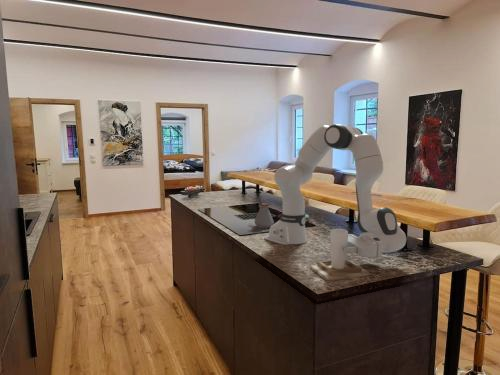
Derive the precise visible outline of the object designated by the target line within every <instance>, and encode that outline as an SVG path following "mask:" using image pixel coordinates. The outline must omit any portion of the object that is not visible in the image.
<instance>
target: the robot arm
mask: <svg viewBox="0 0 500 375" xmlns="http://www.w3.org/2000/svg"><path fill="white" fill-rule="evenodd" d="M331 149H335V150H339V151H350V152H351V153H352V156H353V161H354V166H355V194H356V202H357V219H356V223H357V227H358V230H359V231H361V233H360V234H359V235H358V236H357V235H355V234H352V233H348V244H347V247H343V252H345V253H346V254H347V253H350V254H355V255H357V256H359V257H361V258H364V259H365V258H382V255H383V253H392V252H396V251H399V250H402V249H403V248H404V247H405V246H406V243H407V236H406V233H405V232H404V231H403V230H402V229H401V228H400V226H399V223H398V221H397V216H396V213H395V212H394V211H393V210H392V209H391V208H389V207H385V206H384V207H383V206H382V207H379V208H376V209H374V207H373V201H372V200H373V199H372V188H373V186H374V184H375V183H376V182H377V180H378V179H379V178H380V177H381V176H382V174H383V172H384V161H383V157H382V154H381V149H380V147H379V145H378V142H377V139H376V138H375V136H374V135H372V134H370V133H364V132H363V131H362V130H361V129H359V128H358V127H355V126H352V125H349V124H341V123H340V124H339V123H335V124H331V125H329V124H328V125H327V124H324V125H321V126H319V127H318V128H317V129H316V130H315V131H314V132H313V133H312V134H311V136H309V138H308V139H307V140H306V141H305V143H303V145H302V147H300V149H299V151H298V155H297V158H296V160H295V162H293V163H292V164H289V165H288V164H287V165H283V166H281V167H280V168H278V169H276V170H275V172H274V175H273V178H274V182H275V184H276V185H277V187H278V188H279V190H280V194H281V197H282V200H281V201H282V213H280V214H278V216H277V217H278V218H279V220H278V221H276V222H274V223H273V225H272V226H271V227H270V228H269V230H268V234H266V235H264V240H267V241H269V242H270V241H271V242H273V243H276V244H279V245H283V246H287V245H303V244H306V243H307V242H308V237H307V233H306V232H307V231H306V222H305V214H306V213H305V211H306V210H305V202H306V201H305V200H306V199H305V196H304V195H303V194H302V192H301V186H303V185H305V184H307V183H308V182H310V181H311V180H312V177H313V173H314V172H315V170H316V168H317V166H318V165H319V163H320V162H321V161H322V160H323V158H324V157H325V156H326V155H327V154H328V152H329V151H330V150H331Z"/></svg>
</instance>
